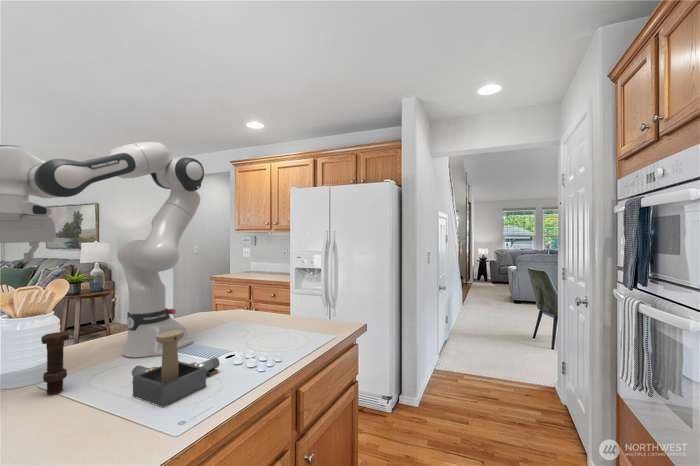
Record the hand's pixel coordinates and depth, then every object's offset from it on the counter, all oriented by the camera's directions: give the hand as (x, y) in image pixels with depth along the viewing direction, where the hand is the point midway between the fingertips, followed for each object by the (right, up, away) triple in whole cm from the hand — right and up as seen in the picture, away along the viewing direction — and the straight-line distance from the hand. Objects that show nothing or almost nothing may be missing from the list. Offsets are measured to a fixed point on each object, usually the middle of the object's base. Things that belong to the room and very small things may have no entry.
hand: (4, 260), depth 86 cm
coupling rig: (+41, -34, +6) cm, 54 cm away
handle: (+43, -34, 0) cm, 55 cm away
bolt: (+13, -34, 0) cm, 37 cm away
